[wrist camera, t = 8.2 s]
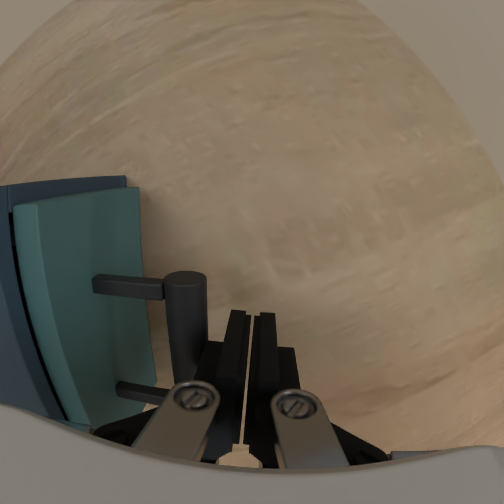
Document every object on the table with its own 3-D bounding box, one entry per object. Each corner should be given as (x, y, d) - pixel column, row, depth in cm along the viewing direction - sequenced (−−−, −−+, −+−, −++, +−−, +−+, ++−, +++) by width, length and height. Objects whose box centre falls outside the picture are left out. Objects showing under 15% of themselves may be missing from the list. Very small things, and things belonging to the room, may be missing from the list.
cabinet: (126, 175, 14) (-11, 187, 5) (146, 376, 17) (90, 483, 8) (-15, 191, 14) (-105, 212, 5) (12, 340, 17) (-51, 395, 9)
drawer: (225, 186, 13) (181, 199, 6) (225, 389, 16) (207, 491, 9) (-8, 198, 13) (-87, 218, 6) (20, 345, 16) (-35, 393, 9)
